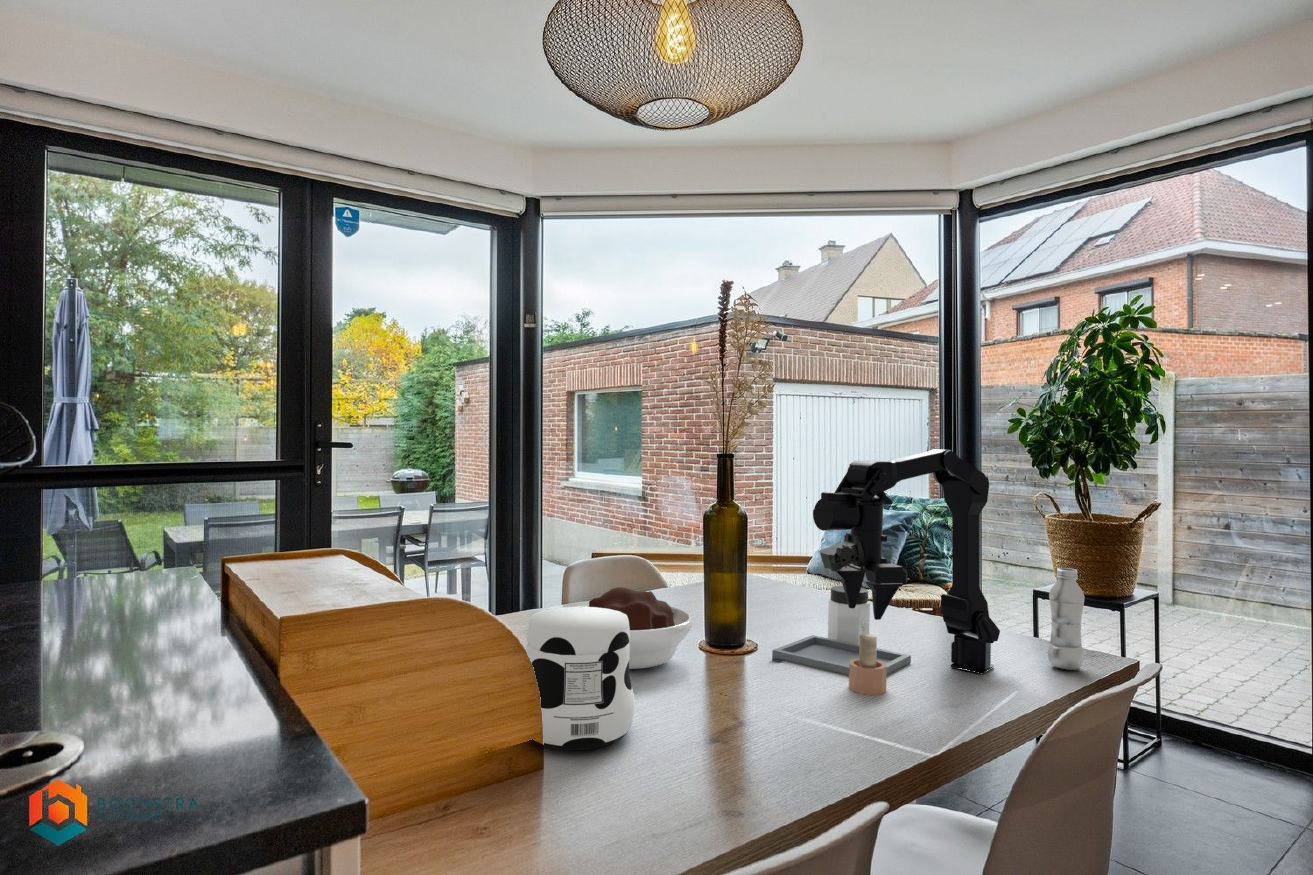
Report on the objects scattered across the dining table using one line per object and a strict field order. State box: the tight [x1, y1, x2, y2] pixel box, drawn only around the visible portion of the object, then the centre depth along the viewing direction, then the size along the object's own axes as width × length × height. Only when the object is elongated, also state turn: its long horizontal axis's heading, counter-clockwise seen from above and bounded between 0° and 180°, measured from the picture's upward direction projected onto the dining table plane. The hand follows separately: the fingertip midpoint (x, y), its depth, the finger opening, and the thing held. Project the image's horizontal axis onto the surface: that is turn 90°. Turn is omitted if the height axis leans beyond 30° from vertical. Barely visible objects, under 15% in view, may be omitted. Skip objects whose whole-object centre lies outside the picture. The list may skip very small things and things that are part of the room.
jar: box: [827, 585, 871, 645], centre depth 172 cm, size 9×8×12 cm
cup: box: [848, 659, 887, 696], centre depth 139 cm, size 6×6×5 cm
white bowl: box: [584, 586, 693, 670], centre depth 155 cm, size 25×25×15 cm
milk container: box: [525, 606, 636, 751], centre depth 117 cm, size 17×17×18 cm
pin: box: [859, 633, 878, 668], centre depth 139 cm, size 3×3×10 cm
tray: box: [771, 634, 912, 677], centre depth 157 cm, size 22×16×2 cm
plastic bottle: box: [1047, 567, 1086, 671], centre depth 155 cm, size 6×7×20 cm
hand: (864, 613), depth 142 cm, fingers open, 9 cm apart
